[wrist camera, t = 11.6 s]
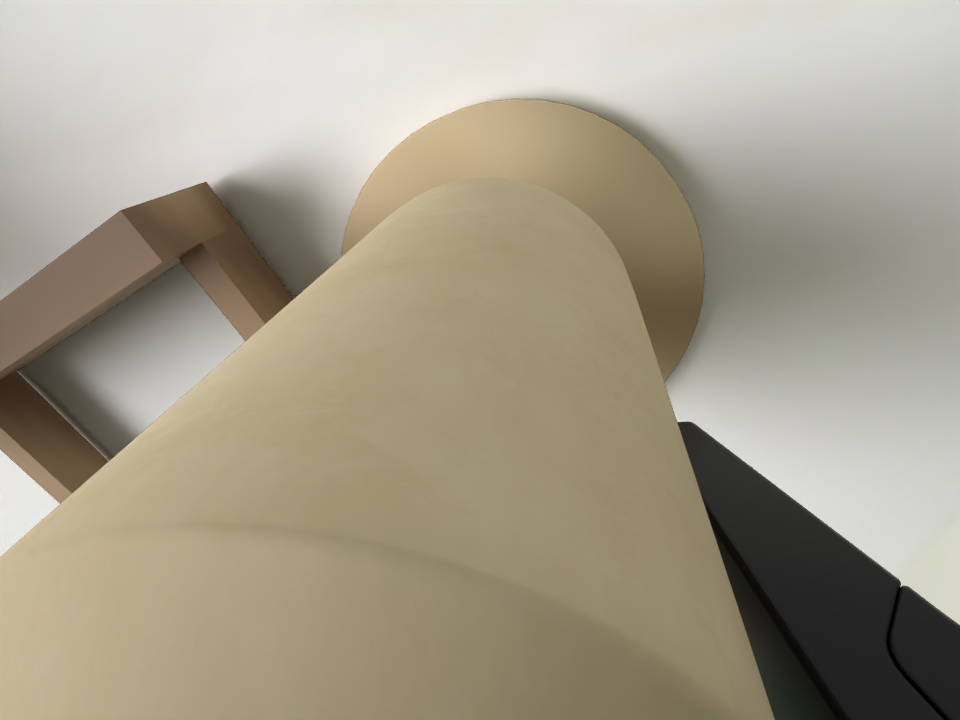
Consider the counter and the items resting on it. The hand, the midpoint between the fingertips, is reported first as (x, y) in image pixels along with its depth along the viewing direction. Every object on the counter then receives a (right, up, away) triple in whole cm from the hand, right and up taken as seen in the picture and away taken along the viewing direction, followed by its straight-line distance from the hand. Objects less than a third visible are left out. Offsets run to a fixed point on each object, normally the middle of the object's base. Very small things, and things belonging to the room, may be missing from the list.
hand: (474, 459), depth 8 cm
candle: (0, +2, +3) cm, 4 cm away
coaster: (+1, +3, +6) cm, 7 cm away
